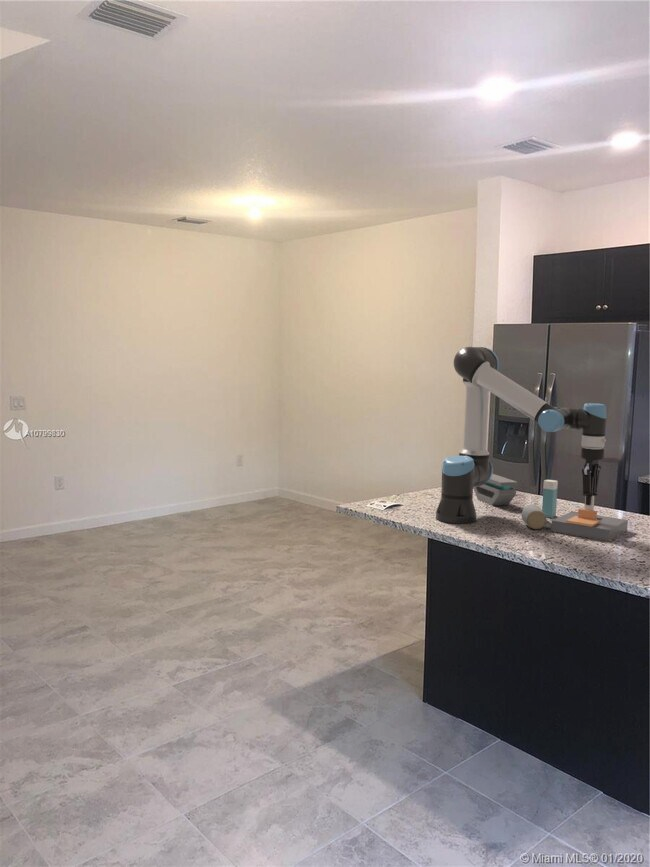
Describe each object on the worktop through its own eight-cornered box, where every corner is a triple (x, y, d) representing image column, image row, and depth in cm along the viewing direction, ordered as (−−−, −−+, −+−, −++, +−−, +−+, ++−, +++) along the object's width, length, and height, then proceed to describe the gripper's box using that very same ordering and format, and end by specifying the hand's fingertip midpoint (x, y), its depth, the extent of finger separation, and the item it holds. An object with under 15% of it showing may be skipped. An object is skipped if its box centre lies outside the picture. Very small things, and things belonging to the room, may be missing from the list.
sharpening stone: (470, 496, 306) (471, 472, 305) (486, 496, 309) (487, 472, 307) (499, 509, 282) (500, 482, 281) (516, 508, 285) (517, 482, 283)
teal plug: (551, 517, 268) (553, 482, 267) (541, 516, 271) (543, 480, 269) (555, 516, 271) (557, 480, 270) (545, 514, 274) (547, 479, 272)
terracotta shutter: (592, 526, 237) (593, 515, 236) (566, 522, 242) (566, 511, 242) (601, 522, 244) (601, 511, 243) (575, 518, 249) (576, 507, 249)
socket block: (609, 541, 234) (609, 529, 234) (551, 531, 247) (551, 520, 247) (627, 530, 250) (627, 519, 249) (571, 521, 262) (572, 511, 262)
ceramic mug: (526, 530, 248) (527, 508, 248) (520, 524, 257) (522, 504, 256) (556, 531, 248) (557, 510, 247) (549, 525, 256) (551, 505, 255)
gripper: (597, 450, 237) (593, 518, 239) (609, 447, 247) (605, 512, 249) (575, 448, 241) (571, 515, 244) (588, 445, 251) (584, 509, 254)
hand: (588, 513), depth 247 cm, fingers closed
